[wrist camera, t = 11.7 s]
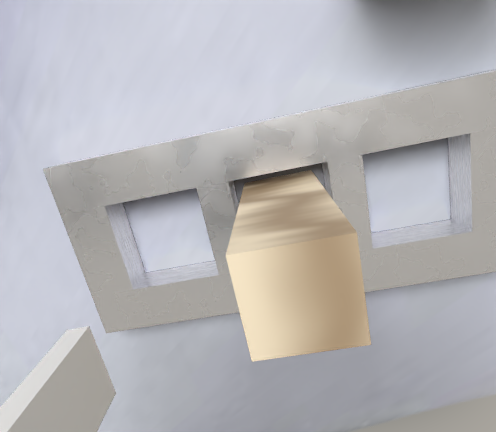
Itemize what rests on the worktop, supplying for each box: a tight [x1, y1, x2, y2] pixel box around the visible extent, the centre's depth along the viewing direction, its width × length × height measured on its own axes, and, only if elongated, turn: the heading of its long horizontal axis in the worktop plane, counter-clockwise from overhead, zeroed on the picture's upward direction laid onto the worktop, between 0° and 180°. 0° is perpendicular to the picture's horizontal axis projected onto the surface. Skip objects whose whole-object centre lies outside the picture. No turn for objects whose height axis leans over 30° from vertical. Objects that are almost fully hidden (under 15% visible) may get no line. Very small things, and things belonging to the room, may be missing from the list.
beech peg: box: [226, 170, 371, 362], centre depth 18 cm, size 4×4×12 cm
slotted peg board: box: [43, 70, 496, 333], centre depth 22 cm, size 28×12×3 cm, turn 102°
